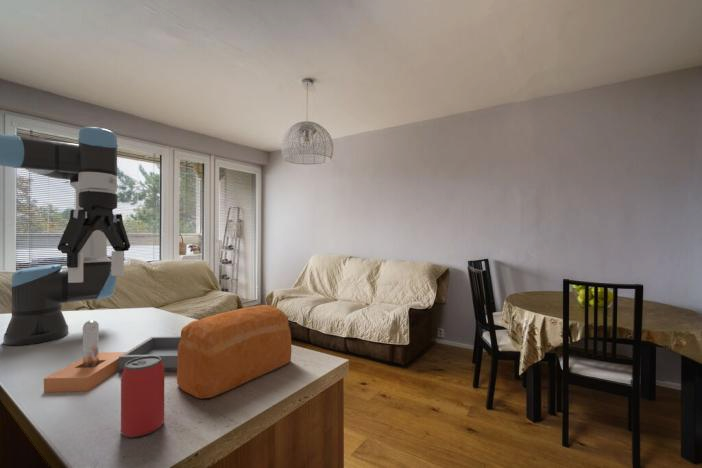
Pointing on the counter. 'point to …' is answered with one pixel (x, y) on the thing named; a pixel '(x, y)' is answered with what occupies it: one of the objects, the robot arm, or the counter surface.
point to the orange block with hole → (83, 374)
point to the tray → (154, 352)
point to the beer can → (142, 396)
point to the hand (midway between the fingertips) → (98, 278)
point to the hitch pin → (90, 344)
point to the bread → (232, 349)
